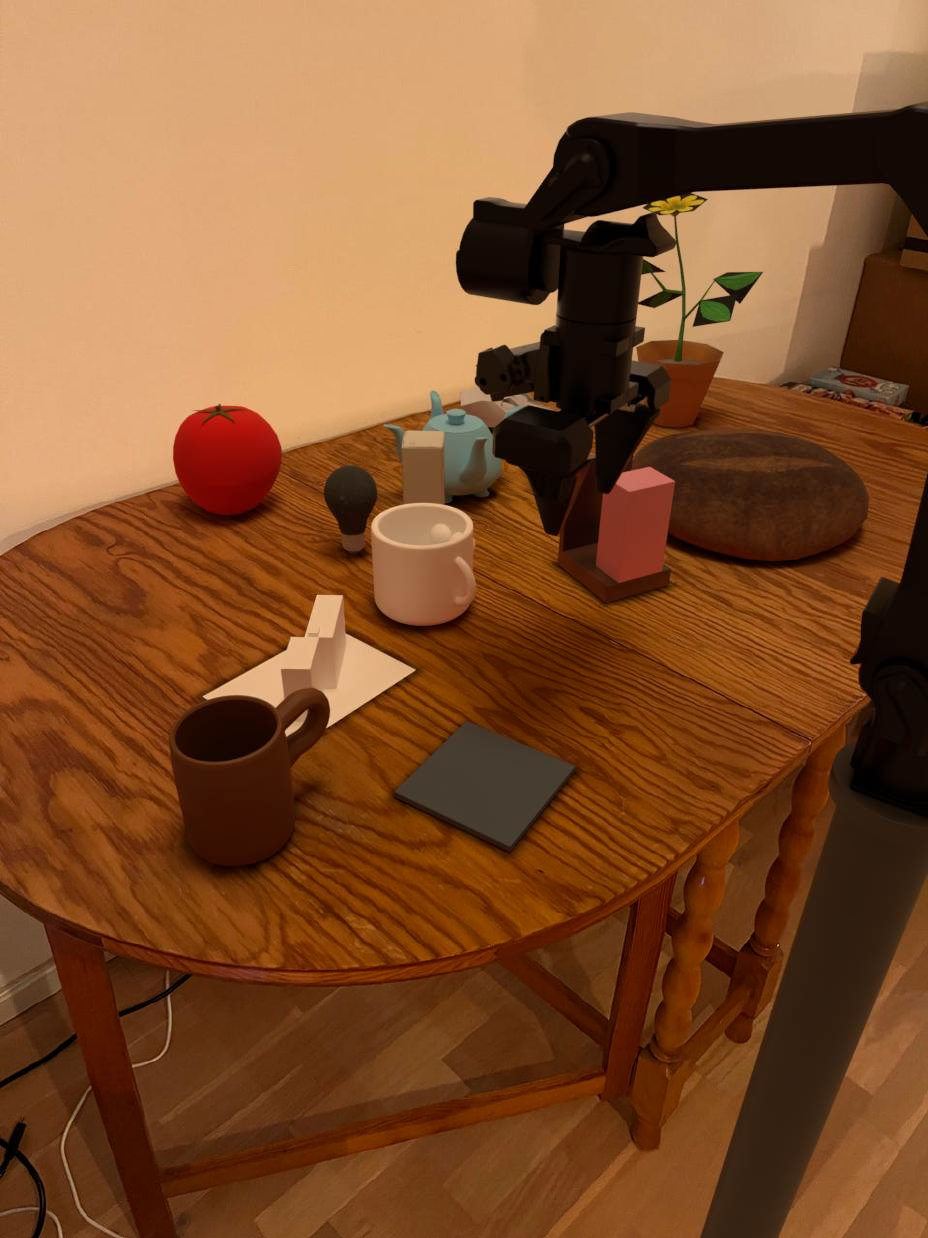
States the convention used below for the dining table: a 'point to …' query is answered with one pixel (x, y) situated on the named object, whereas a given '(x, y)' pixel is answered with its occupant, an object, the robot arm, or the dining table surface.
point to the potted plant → (691, 359)
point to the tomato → (226, 458)
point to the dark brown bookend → (596, 546)
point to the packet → (635, 525)
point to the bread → (757, 492)
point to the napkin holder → (321, 667)
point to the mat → (486, 784)
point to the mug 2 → (423, 563)
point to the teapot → (462, 449)
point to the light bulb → (351, 503)
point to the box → (423, 467)
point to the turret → (493, 405)
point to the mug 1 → (242, 772)
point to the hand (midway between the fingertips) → (578, 512)
